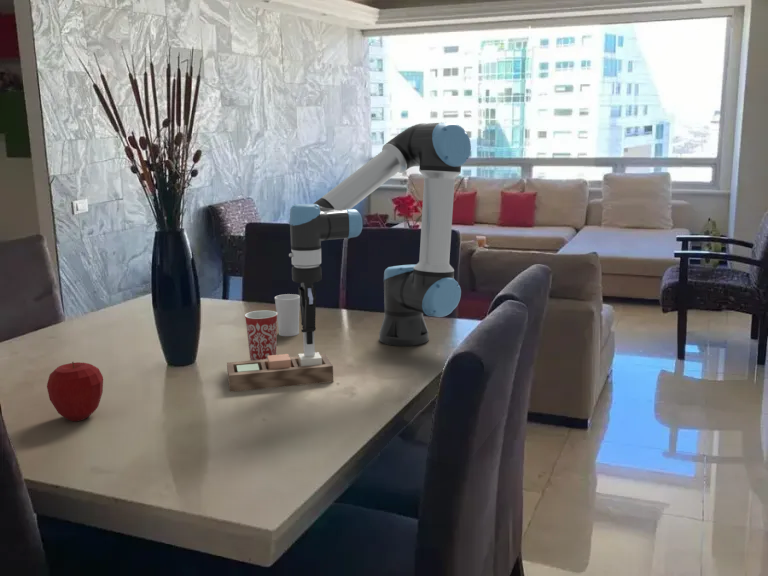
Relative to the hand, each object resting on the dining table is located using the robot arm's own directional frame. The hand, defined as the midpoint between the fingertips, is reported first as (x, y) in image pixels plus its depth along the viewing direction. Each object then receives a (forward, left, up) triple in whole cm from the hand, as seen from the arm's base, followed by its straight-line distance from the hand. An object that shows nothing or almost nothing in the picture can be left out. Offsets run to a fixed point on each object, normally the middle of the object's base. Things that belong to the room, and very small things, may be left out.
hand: (309, 354), depth 193 cm
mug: (+10, -20, -6) cm, 23 cm away
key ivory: (0, 0, -4) cm, 4 cm away
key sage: (+16, 0, -6) cm, 17 cm away
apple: (+55, +13, -6) cm, 57 cm away
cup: (0, -45, -6) cm, 46 cm away
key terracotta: (+8, 0, -4) cm, 9 cm away
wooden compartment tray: (+8, 0, -6) cm, 10 cm away
